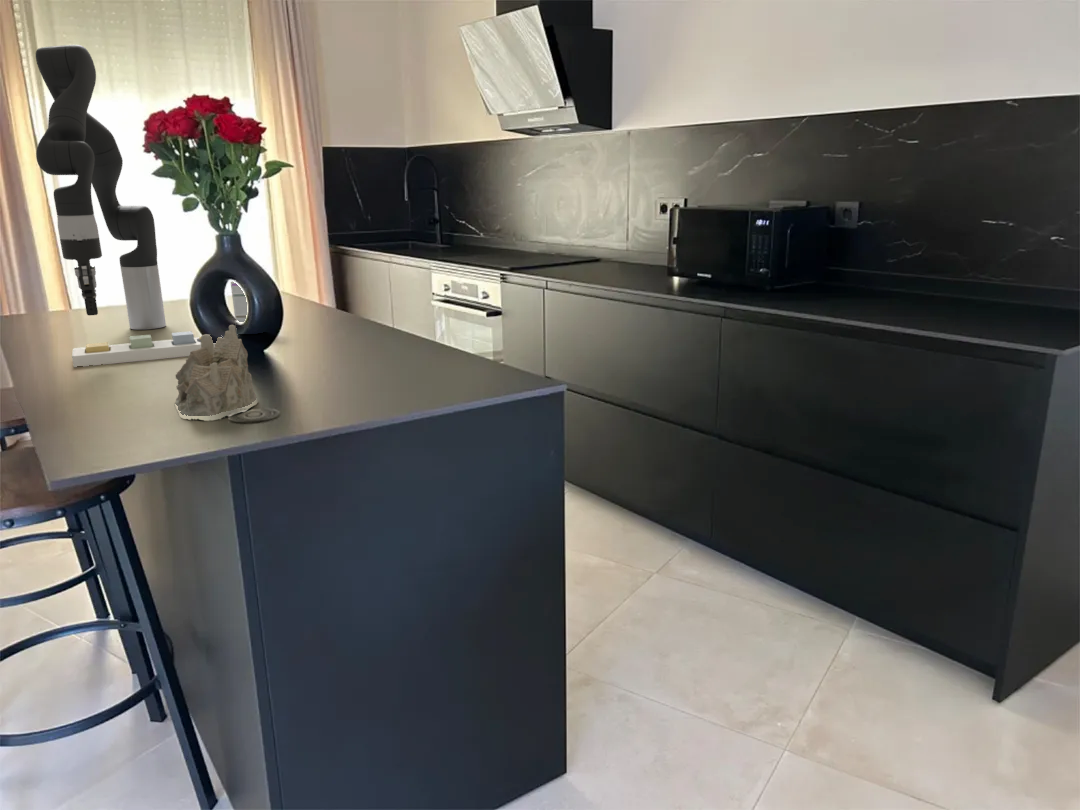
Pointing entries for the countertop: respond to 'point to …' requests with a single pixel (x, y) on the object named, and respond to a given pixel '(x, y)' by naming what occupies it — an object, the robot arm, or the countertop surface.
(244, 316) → the syrup box
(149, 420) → the countertop surface
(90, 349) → the ochre button
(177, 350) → the button panel
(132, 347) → the sage button
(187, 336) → the slate button
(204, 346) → the ceramic cottage
